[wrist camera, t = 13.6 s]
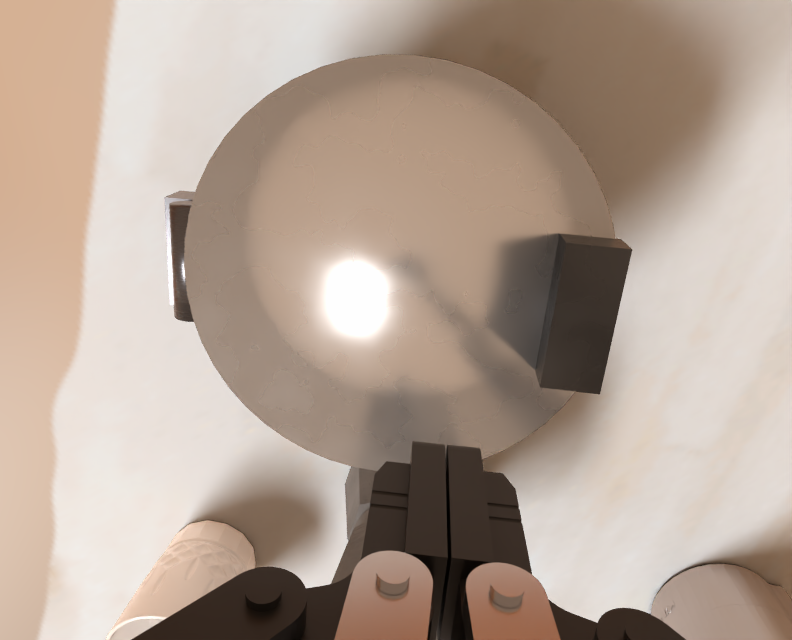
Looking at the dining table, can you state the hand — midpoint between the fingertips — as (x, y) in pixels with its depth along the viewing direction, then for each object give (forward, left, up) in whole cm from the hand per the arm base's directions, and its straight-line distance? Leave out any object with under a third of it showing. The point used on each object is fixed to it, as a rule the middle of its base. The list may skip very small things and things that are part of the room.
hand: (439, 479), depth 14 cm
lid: (+2, 0, -15) cm, 15 cm away
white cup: (+15, +28, -27) cm, 42 cm away
